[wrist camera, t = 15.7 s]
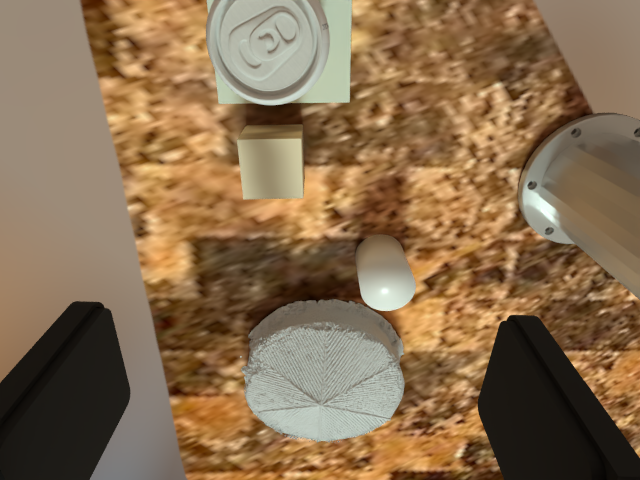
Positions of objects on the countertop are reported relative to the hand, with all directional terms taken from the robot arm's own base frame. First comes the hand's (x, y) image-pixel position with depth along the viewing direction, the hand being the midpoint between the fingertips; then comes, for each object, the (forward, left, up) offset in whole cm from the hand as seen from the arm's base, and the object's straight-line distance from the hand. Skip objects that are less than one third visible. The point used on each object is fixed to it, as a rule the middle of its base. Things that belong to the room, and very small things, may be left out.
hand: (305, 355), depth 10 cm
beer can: (+2, -6, -29) cm, 30 cm away
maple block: (+3, +4, -30) cm, 30 cm away
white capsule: (-7, +15, -30) cm, 34 cm away
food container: (-1, +29, -31) cm, 42 cm away
